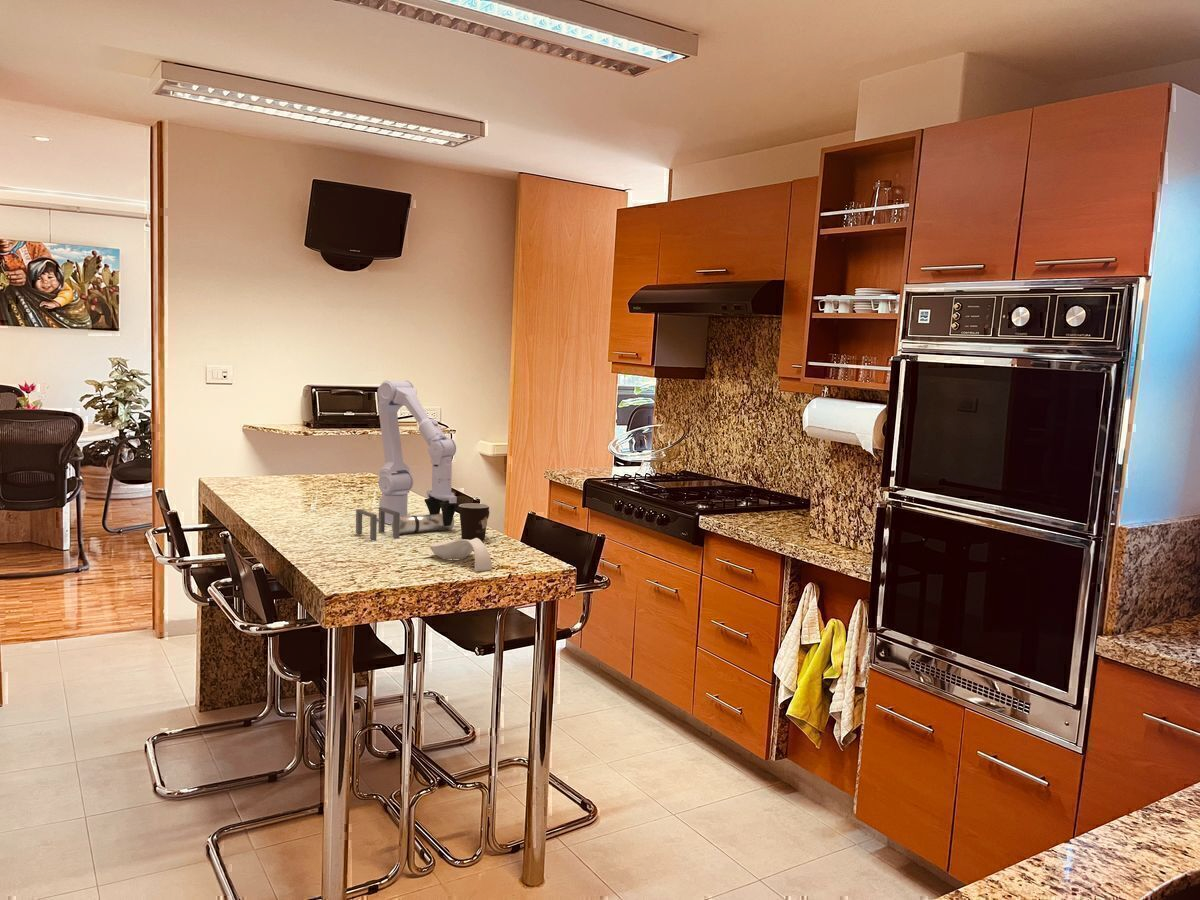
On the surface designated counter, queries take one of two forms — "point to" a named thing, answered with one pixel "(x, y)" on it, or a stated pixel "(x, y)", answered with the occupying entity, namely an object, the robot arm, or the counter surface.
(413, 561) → the counter surface
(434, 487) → the robot arm
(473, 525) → the coffee mug
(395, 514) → the collar
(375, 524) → the collar
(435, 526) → the tube
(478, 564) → the spoon rest
